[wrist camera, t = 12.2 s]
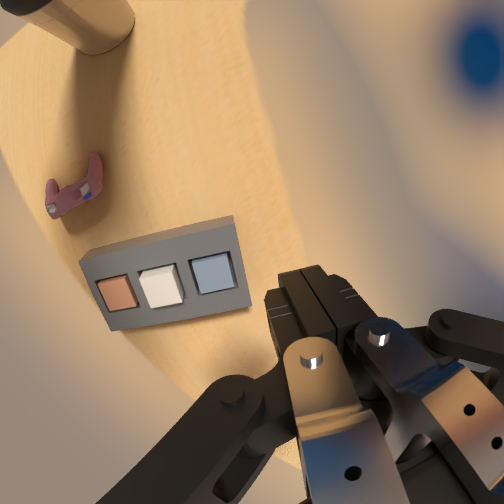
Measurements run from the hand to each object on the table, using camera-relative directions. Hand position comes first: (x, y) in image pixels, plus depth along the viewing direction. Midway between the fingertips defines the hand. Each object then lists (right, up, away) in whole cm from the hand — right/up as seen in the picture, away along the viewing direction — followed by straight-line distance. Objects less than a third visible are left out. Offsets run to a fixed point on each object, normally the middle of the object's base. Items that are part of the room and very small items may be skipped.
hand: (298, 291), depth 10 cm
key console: (-14, -1, +28) cm, 31 cm away
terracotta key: (-21, -4, +26) cm, 33 cm away
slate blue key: (-7, -1, +27) cm, 28 cm away
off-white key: (-14, -3, +25) cm, 29 cm away
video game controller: (-26, +11, +22) cm, 35 cm away
